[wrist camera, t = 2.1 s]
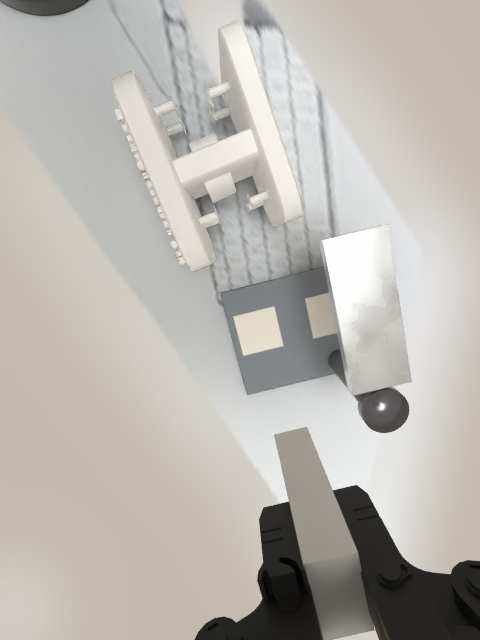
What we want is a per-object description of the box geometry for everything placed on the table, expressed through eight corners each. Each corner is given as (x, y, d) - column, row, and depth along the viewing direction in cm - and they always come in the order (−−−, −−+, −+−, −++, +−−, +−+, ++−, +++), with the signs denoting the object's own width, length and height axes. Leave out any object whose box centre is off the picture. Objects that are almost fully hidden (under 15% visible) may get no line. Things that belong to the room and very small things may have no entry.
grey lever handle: (318, 241, 26) (323, 240, 25) (380, 225, 26) (387, 224, 24) (356, 431, 29) (361, 438, 28) (410, 418, 29) (418, 425, 28)
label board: (220, 292, 39) (216, 314, 27) (345, 261, 38) (395, 269, 27) (246, 391, 41) (252, 450, 30) (363, 363, 41) (416, 411, 29)
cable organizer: (288, 230, 38) (313, 224, 26) (197, 266, 38) (182, 276, 27) (237, 83, 35) (239, 5, 23) (138, 125, 35) (94, 69, 24)
